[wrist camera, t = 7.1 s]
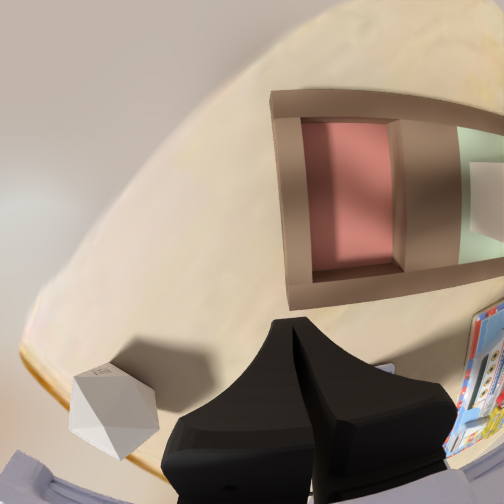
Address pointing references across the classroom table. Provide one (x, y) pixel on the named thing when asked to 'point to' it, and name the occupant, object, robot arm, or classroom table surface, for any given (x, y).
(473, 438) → the puzzle board
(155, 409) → the die
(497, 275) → the tray
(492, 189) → the block
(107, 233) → the classroom table surface
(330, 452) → the robot arm
